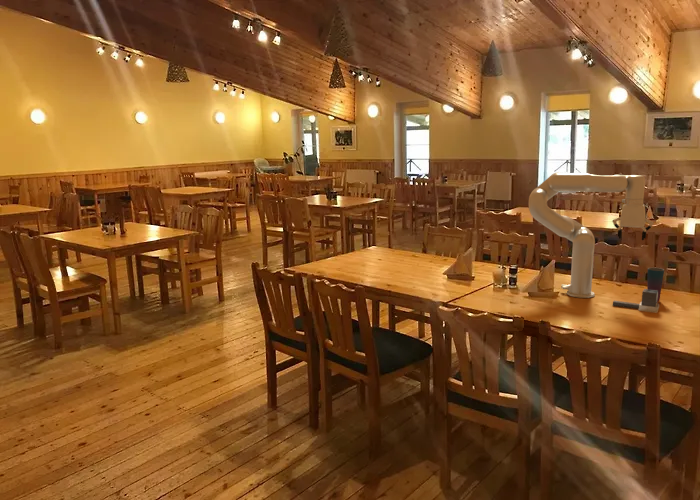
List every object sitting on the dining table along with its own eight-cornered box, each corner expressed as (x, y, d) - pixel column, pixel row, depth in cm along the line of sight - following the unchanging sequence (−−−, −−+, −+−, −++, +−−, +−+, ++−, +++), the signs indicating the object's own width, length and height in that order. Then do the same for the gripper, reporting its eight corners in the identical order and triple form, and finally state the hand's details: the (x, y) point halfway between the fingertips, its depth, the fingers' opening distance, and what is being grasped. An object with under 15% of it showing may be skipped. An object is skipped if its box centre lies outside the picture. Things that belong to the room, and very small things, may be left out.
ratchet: (611, 306, 264) (612, 292, 263) (614, 303, 270) (615, 289, 269) (657, 313, 254) (658, 298, 253) (658, 308, 260) (660, 294, 259)
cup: (663, 302, 269) (666, 270, 267) (647, 302, 271) (650, 270, 268) (659, 298, 276) (661, 267, 273) (643, 298, 277) (645, 267, 274)
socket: (641, 304, 258) (642, 291, 257) (643, 301, 263) (644, 288, 262) (655, 306, 255) (656, 293, 254) (657, 303, 260) (658, 290, 259)
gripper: (612, 202, 271) (610, 238, 275) (654, 203, 262) (651, 241, 265) (615, 200, 278) (612, 236, 281) (656, 202, 268) (653, 239, 272)
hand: (631, 239), depth 273 cm, fingers open, 9 cm apart
